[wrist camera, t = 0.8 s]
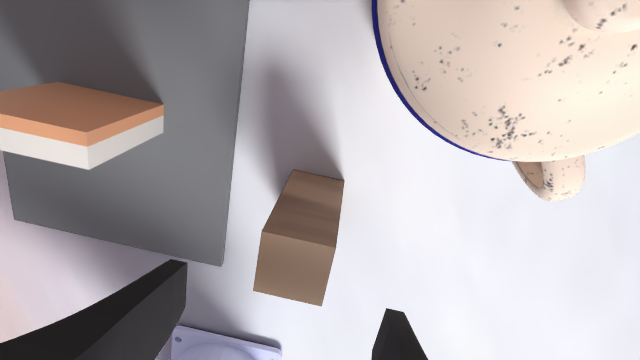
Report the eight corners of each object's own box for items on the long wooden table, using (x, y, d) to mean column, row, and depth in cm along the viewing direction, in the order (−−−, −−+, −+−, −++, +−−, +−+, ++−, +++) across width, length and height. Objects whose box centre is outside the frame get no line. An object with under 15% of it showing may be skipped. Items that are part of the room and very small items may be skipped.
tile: (163, 132, 20) (88, 169, 15) (60, 110, 21) (-51, 138, 15) (163, 104, 20) (86, 132, 14) (58, 81, 20) (-59, 100, 14)
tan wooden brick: (333, 225, 22) (321, 306, 15) (285, 215, 22) (253, 290, 16) (344, 180, 21) (335, 247, 14) (293, 169, 21) (261, 231, 14)
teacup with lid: (339, -50, 17) (296, -201, 6) (554, -158, 14) (1112, -713, 4) (418, 180, 20) (480, 347, 10) (598, 122, 18) (940, 253, 7)
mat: (223, 263, 24) (220, 266, 23) (19, 216, 24) (14, 219, 24) (249, -6, 18) (247, -7, 17) (-25, -63, 18) (-33, -65, 18)
